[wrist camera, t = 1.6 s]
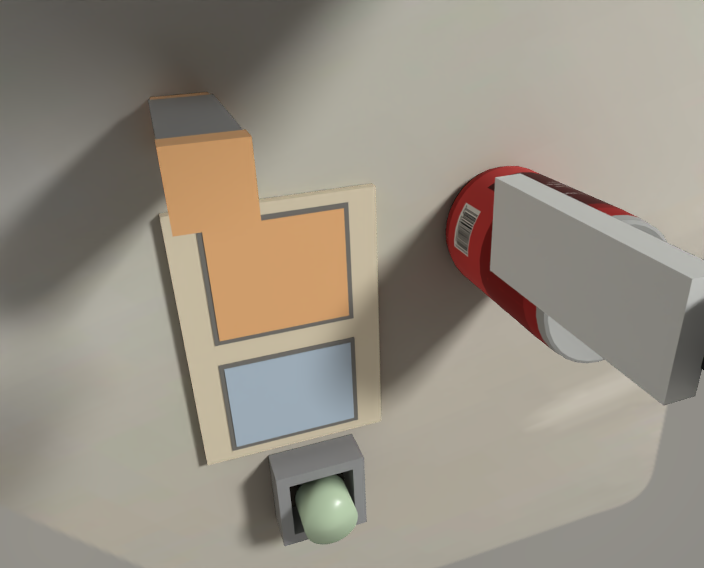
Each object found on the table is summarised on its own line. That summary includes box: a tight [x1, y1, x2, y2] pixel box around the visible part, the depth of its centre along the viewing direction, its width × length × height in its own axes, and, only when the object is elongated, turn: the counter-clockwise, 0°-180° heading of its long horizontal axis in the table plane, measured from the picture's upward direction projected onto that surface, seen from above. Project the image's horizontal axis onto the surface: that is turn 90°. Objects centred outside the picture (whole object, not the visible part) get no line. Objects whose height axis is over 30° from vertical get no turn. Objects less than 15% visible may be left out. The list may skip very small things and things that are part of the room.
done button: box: [295, 475, 358, 544], centre depth 41 cm, size 4×4×3 cm
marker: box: [148, 92, 261, 237], centre depth 26 cm, size 3×3×12 cm
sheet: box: [159, 183, 381, 465], centre depth 37 cm, size 17×12×1 cm
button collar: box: [268, 434, 367, 546], centre depth 42 cm, size 6×6×2 cm
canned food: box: [446, 166, 667, 363], centre depth 35 cm, size 8×8×11 cm
